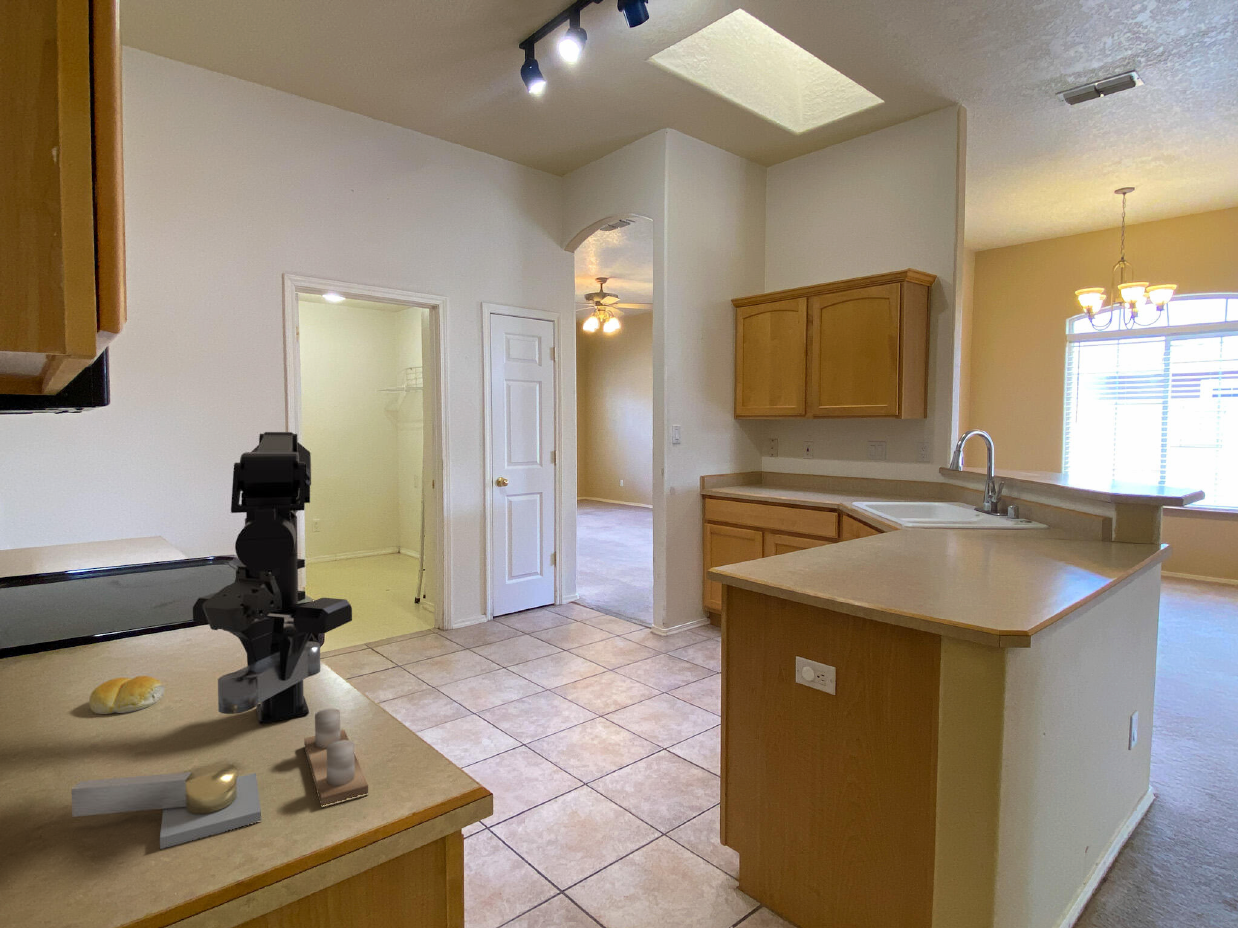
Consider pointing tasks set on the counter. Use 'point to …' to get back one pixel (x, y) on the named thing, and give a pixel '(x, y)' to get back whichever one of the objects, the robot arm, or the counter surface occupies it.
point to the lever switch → (158, 792)
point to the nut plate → (212, 816)
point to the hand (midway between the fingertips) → (273, 678)
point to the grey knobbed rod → (263, 680)
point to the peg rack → (333, 760)
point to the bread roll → (125, 695)
